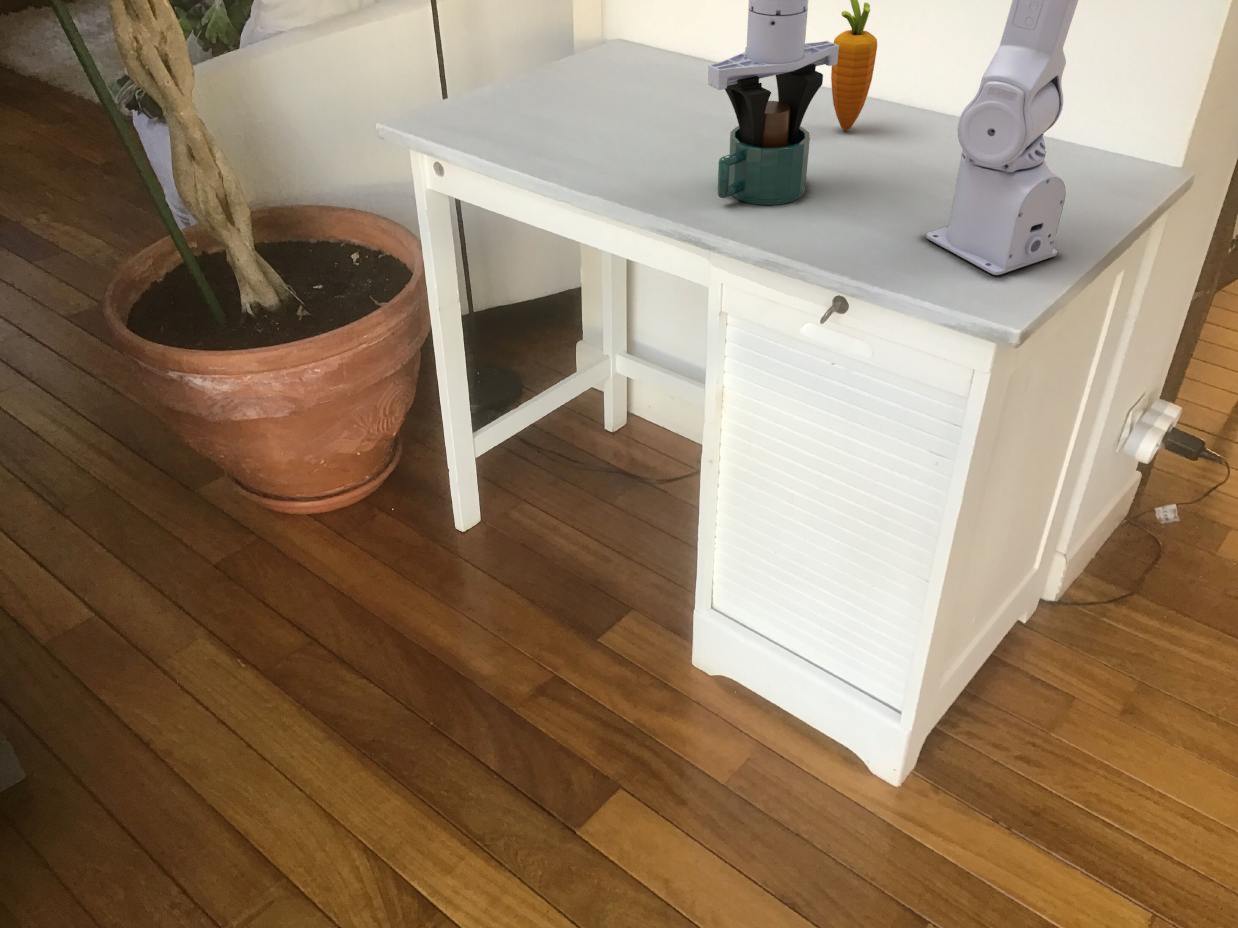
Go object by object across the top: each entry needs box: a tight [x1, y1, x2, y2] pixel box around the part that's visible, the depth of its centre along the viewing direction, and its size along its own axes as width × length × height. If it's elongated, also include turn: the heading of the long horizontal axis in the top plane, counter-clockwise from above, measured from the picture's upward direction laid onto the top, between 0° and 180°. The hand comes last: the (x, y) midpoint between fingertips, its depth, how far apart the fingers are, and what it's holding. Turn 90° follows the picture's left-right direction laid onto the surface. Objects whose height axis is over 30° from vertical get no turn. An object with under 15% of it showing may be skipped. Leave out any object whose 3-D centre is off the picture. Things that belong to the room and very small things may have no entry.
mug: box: [717, 125, 811, 206], centre depth 108 cm, size 11×8×6 cm
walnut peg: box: [760, 100, 791, 148], centre depth 107 cm, size 4×4×6 cm
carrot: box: [830, 0, 878, 132], centre depth 119 cm, size 5×5×15 cm
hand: (769, 145), depth 107 cm, fingers closed on walnut peg, 4 cm apart
